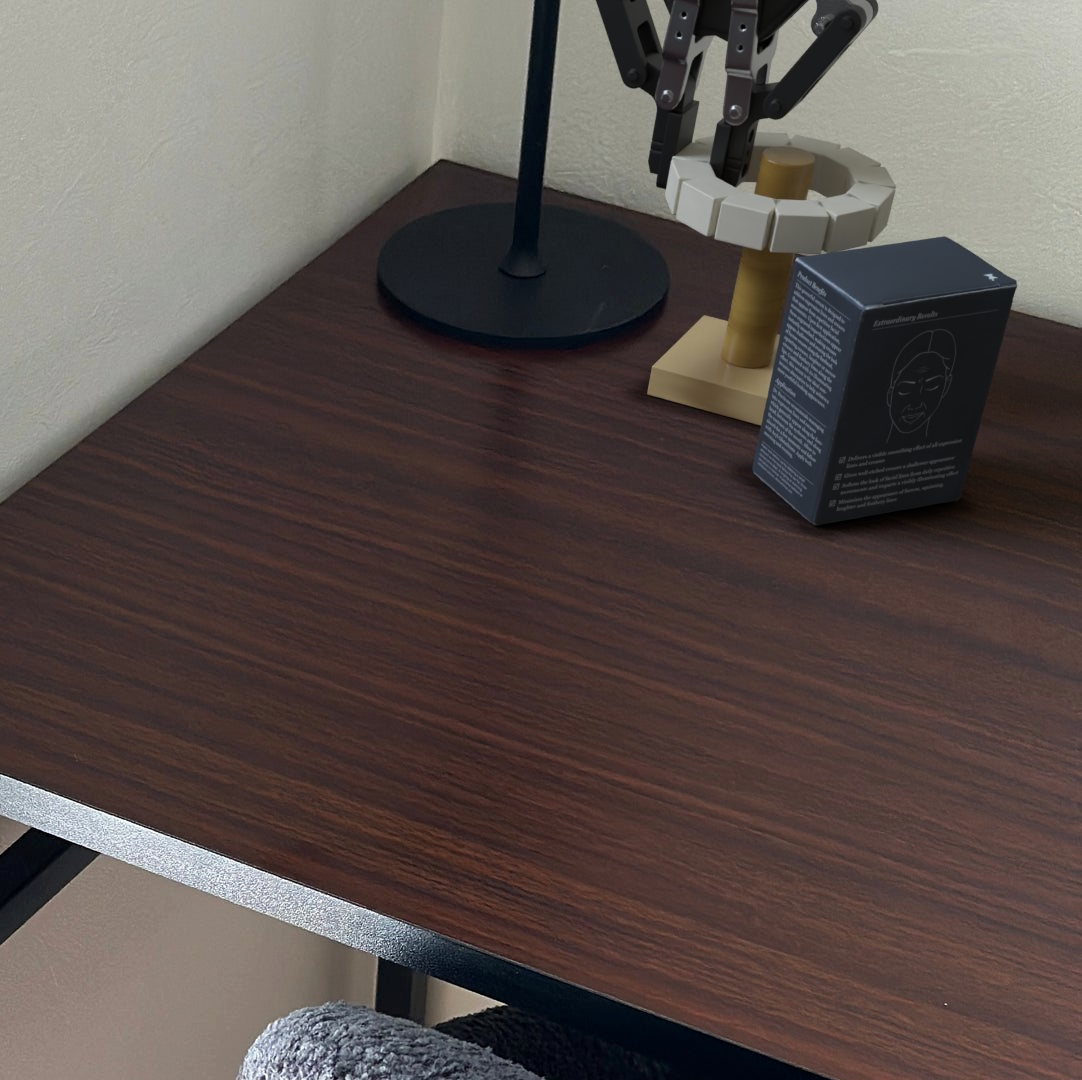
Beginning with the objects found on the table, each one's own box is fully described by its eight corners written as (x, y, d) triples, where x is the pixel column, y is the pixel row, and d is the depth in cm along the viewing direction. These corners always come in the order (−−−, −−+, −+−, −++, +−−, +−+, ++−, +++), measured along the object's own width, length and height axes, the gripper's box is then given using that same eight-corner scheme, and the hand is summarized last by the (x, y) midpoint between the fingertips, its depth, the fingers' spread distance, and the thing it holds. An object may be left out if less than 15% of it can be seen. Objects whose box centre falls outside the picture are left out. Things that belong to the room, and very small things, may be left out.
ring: (912, 199, 112) (921, 162, 110) (844, 272, 105) (853, 233, 104) (711, 152, 116) (718, 116, 114) (634, 220, 109) (641, 182, 108)
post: (832, 377, 117) (886, 148, 110) (784, 432, 112) (838, 197, 105) (698, 342, 120) (743, 116, 112) (646, 394, 115) (689, 162, 108)
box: (891, 448, 111) (947, 231, 105) (961, 505, 107) (1024, 283, 100) (745, 471, 109) (793, 251, 102) (811, 530, 105) (865, 305, 98)
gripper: (952, -200, 100) (859, 197, 112) (649, -250, 106) (589, 134, 117) (898, -161, 96) (806, 250, 107) (583, -215, 101) (527, 182, 112)
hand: (693, 188), depth 112 cm, fingers closed on ring, 2 cm apart
